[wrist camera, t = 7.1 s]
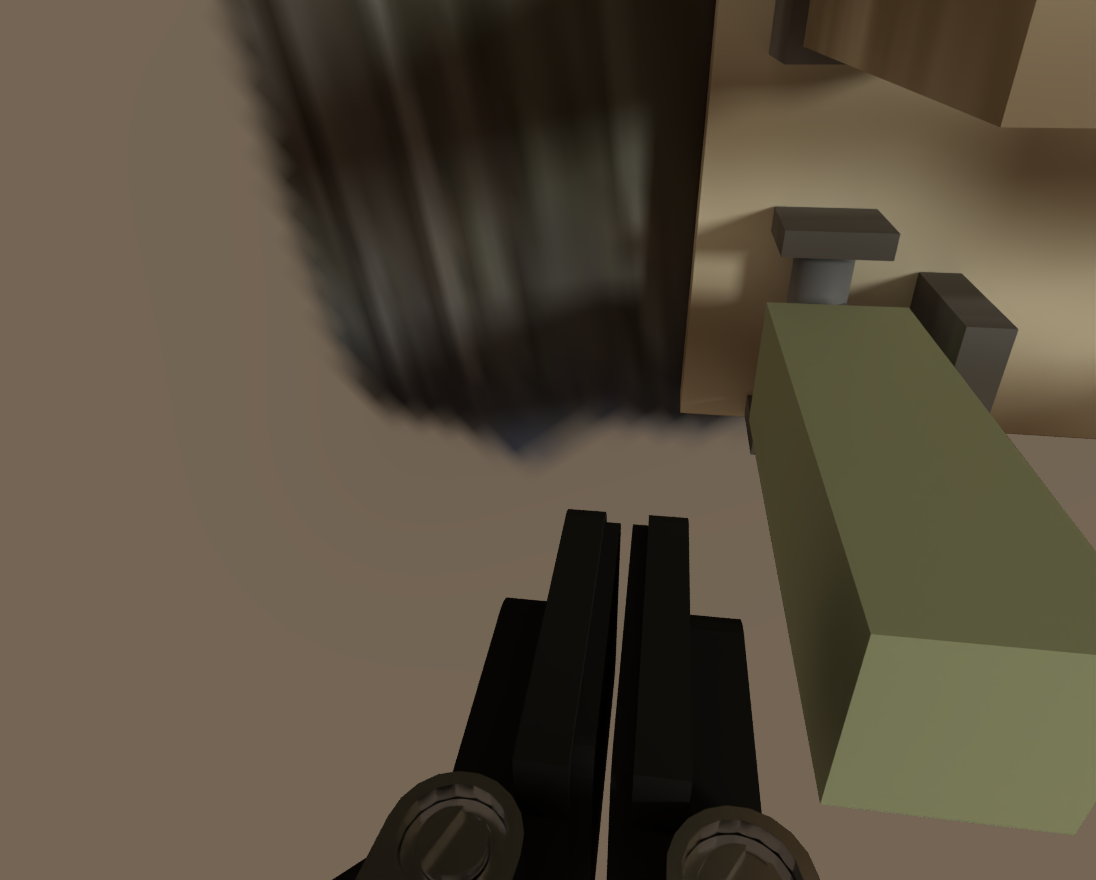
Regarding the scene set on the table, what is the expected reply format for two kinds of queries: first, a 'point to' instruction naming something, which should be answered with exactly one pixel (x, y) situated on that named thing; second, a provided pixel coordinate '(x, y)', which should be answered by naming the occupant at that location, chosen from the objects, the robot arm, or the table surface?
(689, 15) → the table surface
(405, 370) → the table surface
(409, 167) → the table surface
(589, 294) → the table surface
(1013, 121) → the stool seat
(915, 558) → the hinged leg
